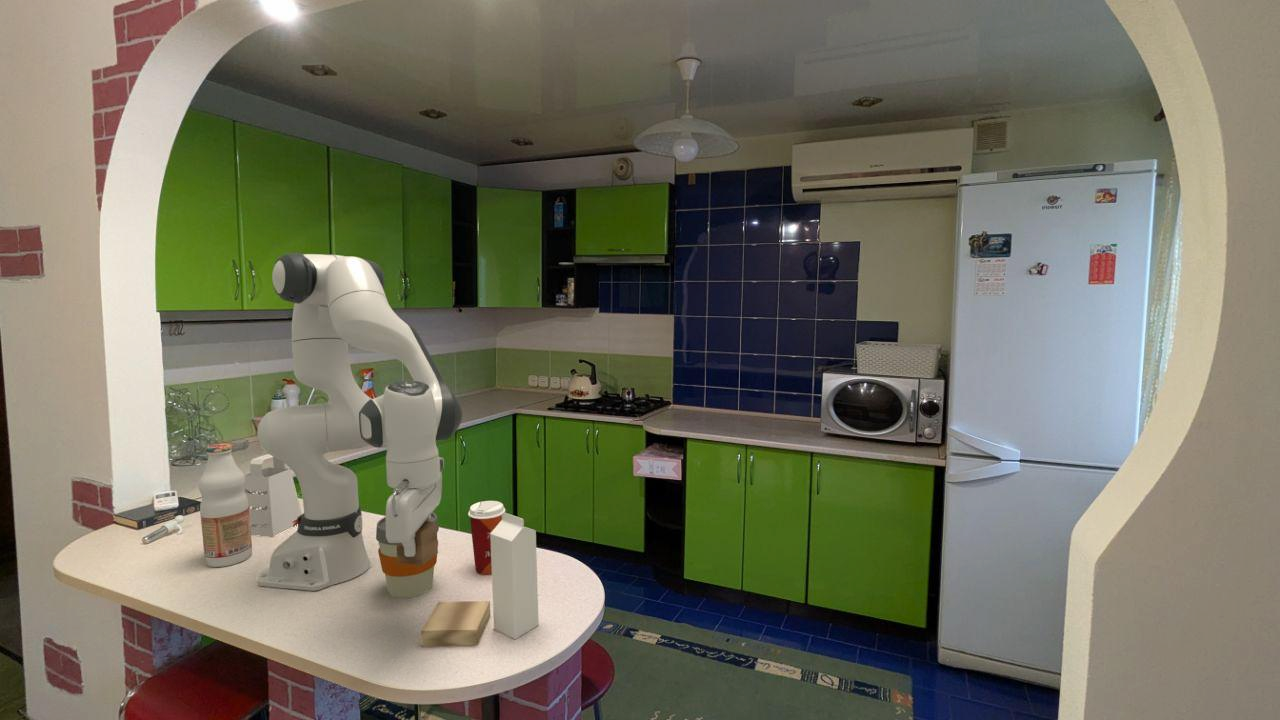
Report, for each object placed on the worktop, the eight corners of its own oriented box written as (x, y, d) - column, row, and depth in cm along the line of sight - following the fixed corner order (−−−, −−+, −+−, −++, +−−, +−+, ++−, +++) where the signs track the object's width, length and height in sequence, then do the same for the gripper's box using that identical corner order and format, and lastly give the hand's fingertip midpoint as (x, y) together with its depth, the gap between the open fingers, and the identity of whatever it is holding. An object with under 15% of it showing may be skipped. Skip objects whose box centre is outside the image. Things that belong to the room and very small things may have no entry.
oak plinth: (421, 646, 106) (420, 630, 106) (439, 616, 116) (438, 601, 116) (477, 645, 106) (476, 629, 106) (490, 615, 116) (489, 601, 116)
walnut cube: (397, 562, 106) (395, 530, 105) (413, 551, 111) (412, 520, 110) (422, 565, 105) (420, 532, 104) (437, 553, 109) (436, 521, 109)
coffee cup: (498, 578, 131) (495, 513, 130) (463, 575, 133) (461, 511, 131) (513, 562, 139) (511, 500, 138) (481, 559, 141) (478, 498, 139)
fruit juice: (196, 569, 137) (184, 451, 134) (218, 552, 146) (208, 441, 143) (240, 566, 138) (230, 449, 135) (259, 549, 148) (250, 439, 144)
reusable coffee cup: (417, 605, 120) (413, 534, 119) (366, 597, 124) (361, 528, 122) (453, 577, 132) (449, 512, 131) (405, 570, 136) (401, 507, 134)
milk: (517, 615, 116) (514, 507, 114) (539, 625, 113) (536, 513, 111) (493, 629, 112) (489, 516, 109) (514, 640, 108) (511, 523, 106)
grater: (240, 534, 157) (233, 460, 155) (272, 519, 167) (266, 450, 165) (273, 537, 155) (267, 463, 153) (304, 522, 165) (298, 452, 163)
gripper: (412, 490, 96) (417, 572, 97) (446, 456, 116) (449, 524, 118) (372, 491, 95) (377, 573, 97) (413, 457, 116) (417, 525, 117)
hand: (417, 546), depth 107 cm, fingers closed on walnut cube, 6 cm apart
